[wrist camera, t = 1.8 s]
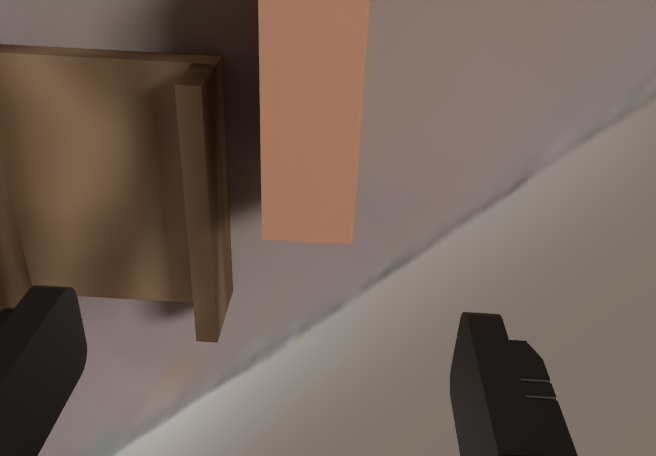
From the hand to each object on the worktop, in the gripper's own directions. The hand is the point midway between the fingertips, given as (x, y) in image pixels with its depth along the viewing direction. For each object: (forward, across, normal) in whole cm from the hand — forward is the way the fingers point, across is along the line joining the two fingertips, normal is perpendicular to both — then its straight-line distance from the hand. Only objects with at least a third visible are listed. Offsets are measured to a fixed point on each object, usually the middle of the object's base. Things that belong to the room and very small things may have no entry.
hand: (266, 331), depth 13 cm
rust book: (+22, 0, 0) cm, 22 cm away
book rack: (+22, +18, +8) cm, 30 cm away
